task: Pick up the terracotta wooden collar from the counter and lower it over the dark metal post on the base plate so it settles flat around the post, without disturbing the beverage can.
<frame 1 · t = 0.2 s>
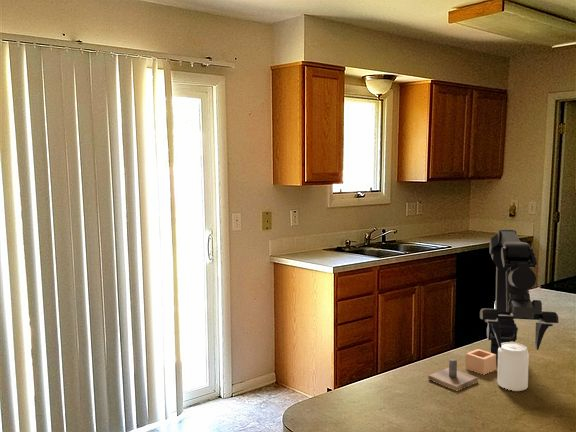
hand: (518, 348, 138), 15 cm above the countertop, tool pointing down, fingers open, 9 cm apart
post stand: (452, 381, 154), on the countertop
collar: (480, 369, 162), on the countertop
beverage can: (512, 387, 150), on the countertop
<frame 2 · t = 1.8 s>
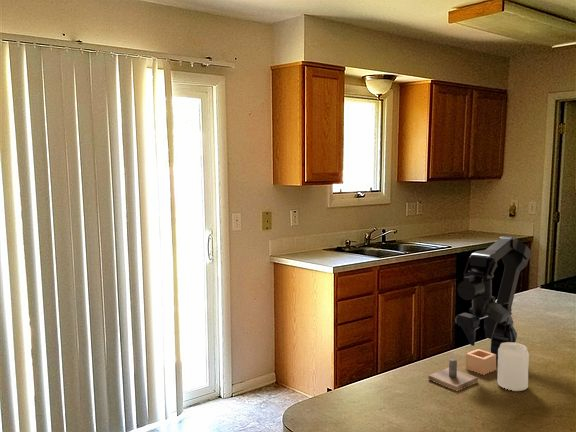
hand: (481, 341, 161), 9 cm above the countertop, tool pointing down, fingers open, 9 cm apart
nothing on the countertop moved.
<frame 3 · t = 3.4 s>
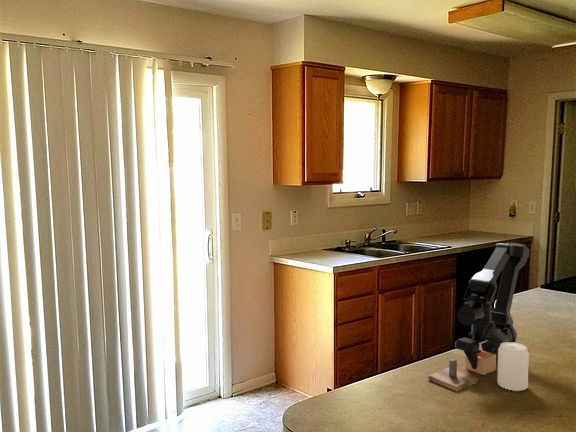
hand: (480, 366, 162), 1 cm above the countertop, tool pointing down, fingers closed on collar, 6 cm apart
collar: (480, 369, 162), on the countertop, touching gripper
everything else where it was.
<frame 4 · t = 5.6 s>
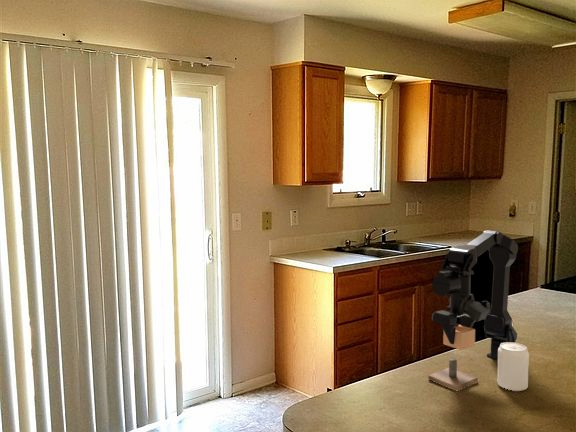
hand: (458, 341, 154), 12 cm above the countertop, tool pointing down, fingers closed on collar, 6 cm apart
collar: (458, 344, 155), point 11 cm above the countertop, touching gripper
everything else where it was.
when the fingers open (4 cm above the countertop, at t = 8.1 s): collar drops 1 cm, resting on post stand.
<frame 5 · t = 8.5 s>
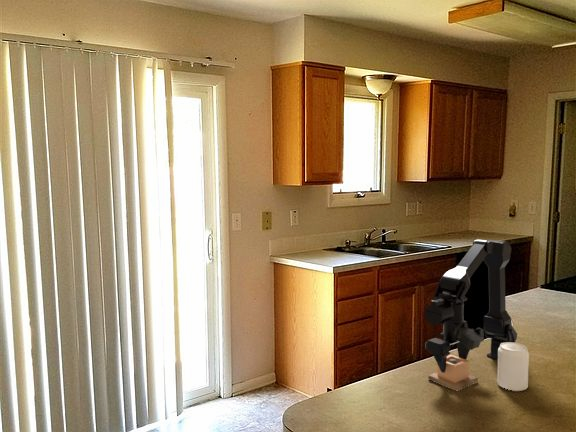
hand: (453, 368, 154), 4 cm above the countertop, tool pointing down, fingers open, 9 cm apart
collar: (453, 376, 154), point 1 cm above the countertop, touching post stand
everything else where it was.
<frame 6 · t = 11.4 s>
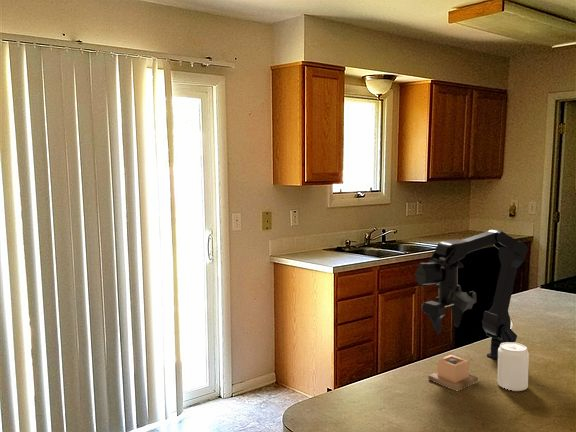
hand: (447, 329, 164), 12 cm above the countertop, tool pointing down, fingers open, 9 cm apart
nothing on the countertop moved.
at the end: collar 0.1 cm off-centre on the post stand, point 1.5 cm above the post stand's base; collar tilted 0°; beverage can moved 0.2 cm from its start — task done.
